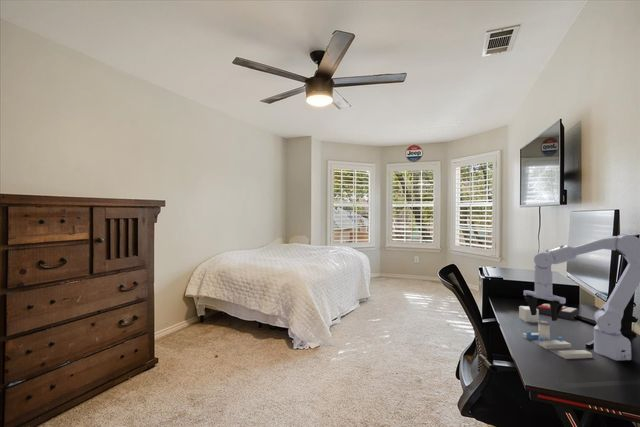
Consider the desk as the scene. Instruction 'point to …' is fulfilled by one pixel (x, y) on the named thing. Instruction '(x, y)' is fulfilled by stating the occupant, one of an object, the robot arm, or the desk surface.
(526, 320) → the cream white cube
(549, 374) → the desk surface
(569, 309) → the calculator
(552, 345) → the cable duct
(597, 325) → the robot arm
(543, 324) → the cream round-ended cylinder
